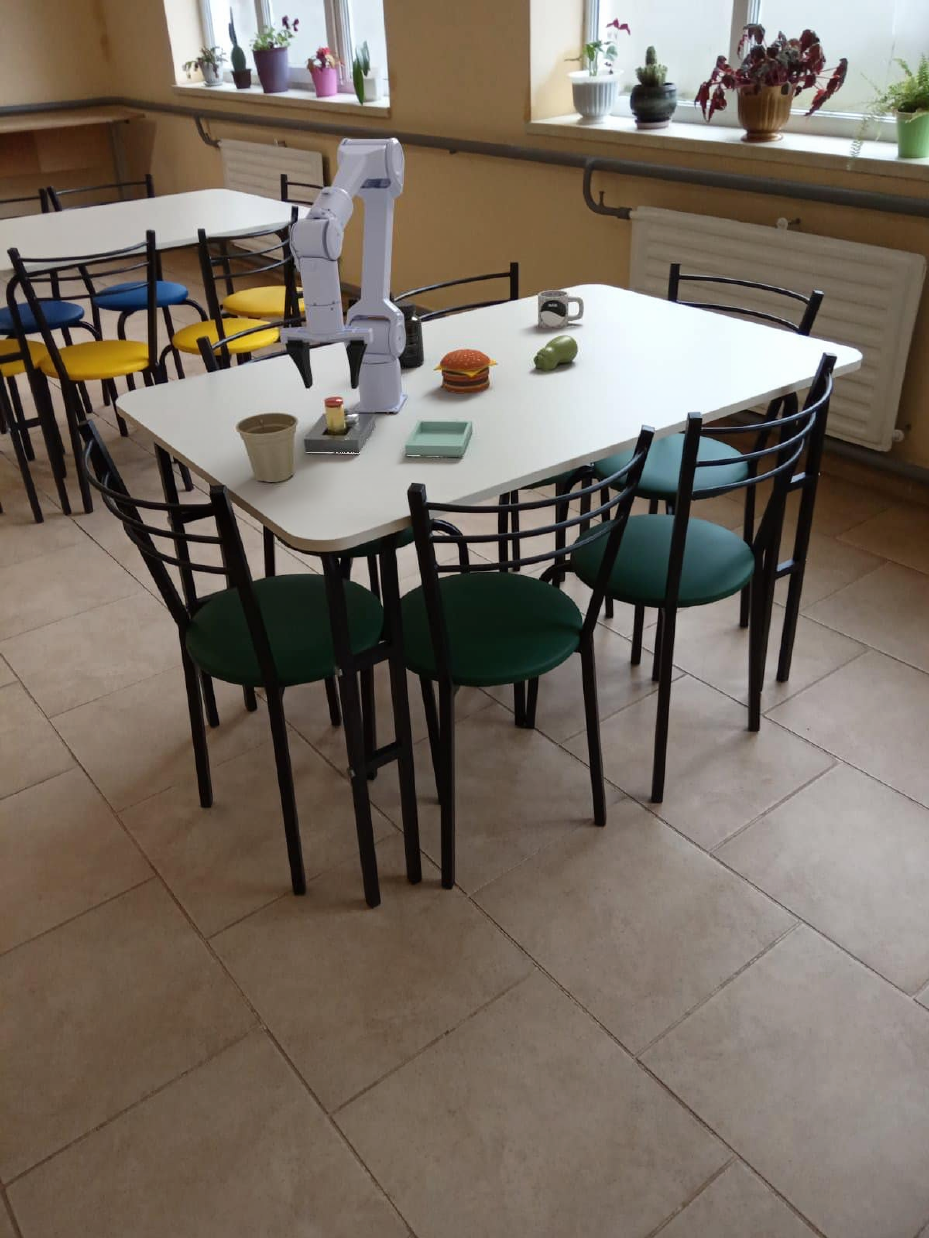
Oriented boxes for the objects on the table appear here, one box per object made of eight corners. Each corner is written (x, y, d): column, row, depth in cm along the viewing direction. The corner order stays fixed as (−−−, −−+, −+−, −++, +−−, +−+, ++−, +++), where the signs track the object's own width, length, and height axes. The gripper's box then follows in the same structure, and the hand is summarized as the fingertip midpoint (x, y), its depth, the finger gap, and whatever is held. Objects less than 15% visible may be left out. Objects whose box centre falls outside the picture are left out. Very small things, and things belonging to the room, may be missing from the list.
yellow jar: (332, 441, 173) (327, 396, 169) (349, 441, 172) (344, 396, 168) (327, 448, 170) (322, 403, 166) (345, 448, 170) (340, 403, 166)
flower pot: (232, 477, 161) (223, 424, 157) (281, 459, 167) (274, 408, 162) (267, 493, 156) (259, 439, 151) (316, 474, 161) (310, 421, 157)
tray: (419, 431, 175) (418, 420, 174) (472, 432, 174) (472, 421, 173) (406, 457, 165) (405, 445, 164) (462, 458, 164) (462, 446, 163)
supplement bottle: (426, 358, 210) (422, 298, 204) (421, 368, 205) (418, 307, 198) (393, 358, 211) (388, 299, 205) (387, 369, 205) (382, 308, 199)
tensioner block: (324, 427, 179) (322, 404, 176) (375, 428, 177) (373, 405, 175) (305, 453, 168) (302, 429, 166) (359, 454, 167) (356, 430, 165)
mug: (538, 329, 226) (538, 298, 222) (537, 320, 231) (537, 290, 228) (584, 327, 225) (585, 296, 222) (582, 319, 231) (583, 289, 227)
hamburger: (458, 375, 200) (456, 341, 197) (500, 382, 196) (499, 348, 192) (430, 389, 194) (428, 354, 190) (473, 397, 189) (472, 361, 186)
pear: (582, 334, 201) (546, 354, 197) (584, 359, 204) (549, 379, 200) (561, 329, 205) (526, 348, 200) (564, 353, 208) (529, 373, 204)
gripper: (269, 308, 157) (281, 394, 164) (362, 308, 155) (370, 395, 162) (283, 296, 163) (294, 380, 170) (372, 296, 160) (380, 381, 167)
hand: (332, 386), depth 166 cm, fingers open, 7 cm apart
